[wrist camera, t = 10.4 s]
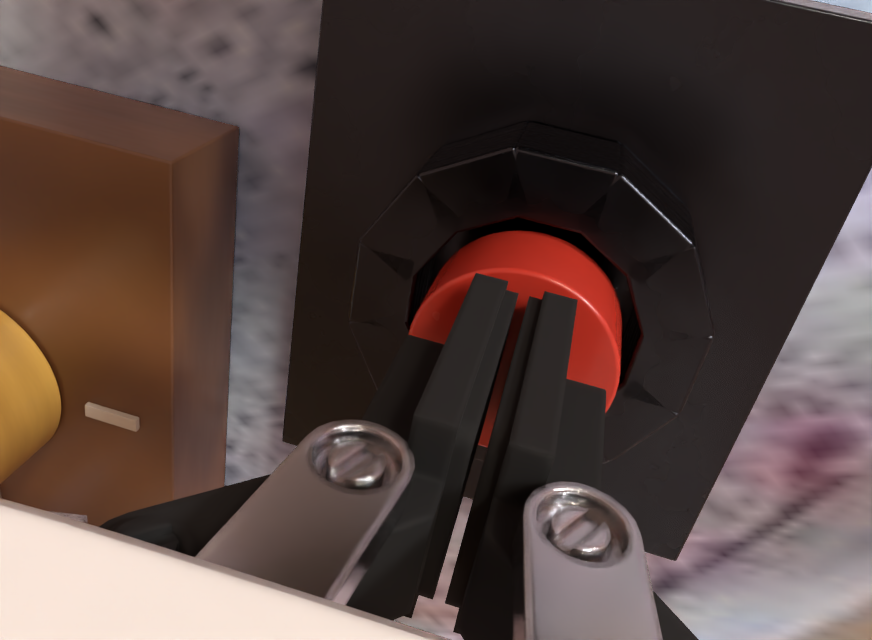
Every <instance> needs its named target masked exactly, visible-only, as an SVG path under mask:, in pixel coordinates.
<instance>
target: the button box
mask: <svg viewBox="0 0 872 640" xmlns="http://www.w3.org/2000/svg"><path fill="white" fill-rule="evenodd" d="M871 168H872V13H868V12H864V11H859V10H854V9H850V8H845V7H840V6H836V5H831V4H826V3H822V2H817V1H812V0H323V4H322V15H321V26H320V36H319V47H318V58H317V69H316V80H315V91H314V102H313V113H312V123H311V134H310V145H309V156H308V167H307V178H306V189H305V200H304V210H303V221H302V232H301V243H300V254H299V265H298V276H297V287H296V298H295V308H294V319H293V330H292V341H291V352H290V363H289V374H288V385H287V395H286V406H285V417H284V428H283V439H282V440H283V442H286V443H289V444H292V445H295V446H298V445H299V444H300V442H301V441H302V440H303V439H304V438H305V437H306V436H307V435H308V434H309V433H311V432H312V431H313V430H315V429H316V428H317V427H319V426H322V425H324V424H327V423H330V422H332V421H339V420H347V419H354V420H362V418H363V416H364V414H365V412H366V410H367V408H368V406H369V405H370V403H371V401H372V399H373V397H374V395H375V393H376V392H377V390H378V388H379V386H380V384H381V382H382V380H383V378H384V377H385V375H386V373H387V371H388V369H389V367H390V365H391V364H392V362H393V360H394V358H395V356H396V354H397V352H398V350H399V349H400V347H401V345H402V343H403V341H404V339H405V338H406V336H407V335H408V333H409V329H410V325H411V323H412V321H413V319H414V316H415V314H416V312H417V310H418V309H419V307H420V305H421V303H422V301H423V300H424V298H425V296H426V294H427V292H428V291H429V289H430V287H431V285H432V283H433V282H434V280H435V278H436V276H437V274H438V273H439V271H440V270H441V268H442V267H443V265H444V264H445V263H446V262H447V261H448V259H449V258H450V257H451V256H452V255H453V254H455V253H456V252H457V251H458V250H459V249H461V248H462V247H464V246H465V245H467V244H468V243H470V242H472V241H474V240H476V239H478V238H481V237H483V236H487V235H490V234H493V233H498V232H504V231H516V230H522V231H534V232H539V233H544V234H548V235H551V236H554V237H558V238H560V239H562V240H565V241H567V242H569V243H571V244H573V245H574V246H576V247H577V248H579V249H581V250H582V251H584V252H585V253H586V254H587V255H589V256H590V257H591V258H592V259H593V260H594V261H595V262H596V263H597V264H598V265H599V266H600V267H601V268H602V269H603V271H604V272H605V274H606V275H607V276H608V278H609V279H610V281H611V283H612V285H613V287H614V289H615V291H616V294H617V297H618V299H619V303H620V308H621V313H622V340H621V371H620V380H619V385H618V389H617V392H616V395H615V398H614V400H613V402H612V404H611V406H610V408H609V409H608V411H607V412H606V414H605V429H604V446H603V464H602V481H601V491H602V492H604V493H606V494H608V495H609V496H611V497H613V498H614V499H615V500H616V501H617V502H619V503H620V504H621V505H622V506H624V507H625V508H626V509H627V511H628V512H629V513H630V515H631V516H632V517H633V518H634V520H635V521H636V523H637V526H638V528H639V531H640V533H641V536H642V541H643V546H644V551H645V552H647V553H650V554H654V555H657V556H660V557H664V558H667V559H670V560H673V561H676V560H677V558H678V556H679V554H680V552H681V550H682V548H683V546H684V544H685V542H686V540H687V538H688V536H689V534H690V532H691V530H692V528H693V526H694V524H695V522H696V520H697V518H698V516H699V514H700V512H701V510H702V508H703V506H704V504H705V502H706V500H707V498H708V496H709V494H710V492H711V490H712V488H713V486H714V484H715V482H716V480H717V478H718V476H719V474H720V472H721V470H722V468H723V466H724V464H725V462H726V460H727V458H728V456H729V453H730V451H731V449H732V447H733V445H734V443H735V441H736V439H737V437H738V435H739V433H740V431H741V429H742V427H743V425H744V423H745V421H746V419H747V417H748V415H749V413H750V411H751V409H752V407H753V405H754V403H755V401H756V399H757V397H758V395H759V393H760V391H761V389H762V387H763V385H764V383H765V381H766V379H767V377H768V375H769V373H770V371H771V369H772V367H773V365H774V363H775V361H776V359H777V357H778V355H779V353H780V351H781V349H782V347H783V345H784V343H785V341H786V339H787V337H788V335H789V333H790V331H791V329H792V327H793V325H794V323H795V321H796V319H797V317H798V315H799V313H800V311H801V309H802V307H803V305H804V303H805V301H806V299H807V297H808V295H809V293H810V291H811V289H812V287H813V285H814V283H815V281H816V279H817V277H818V275H819V273H820V271H821V269H822V267H823V264H824V262H825V260H826V258H827V256H828V254H829V252H830V250H831V248H832V246H833V244H834V242H835V240H836V238H837V236H838V234H839V232H840V230H841V228H842V226H843V224H844V222H845V220H846V218H847V216H848V214H849V212H850V210H851V208H852V206H853V204H854V202H855V200H856V198H857V196H858V194H859V192H860V190H861V188H862V186H863V184H864V182H865V180H866V178H867V176H868V174H869V172H870V170H871ZM486 451H487V448H486V447H483V446H481V445H478V447H477V450H476V454H475V457H474V461H473V464H472V467H471V471H470V474H469V478H468V481H467V484H466V488H465V491H464V495H463V497H466V498H470V499H474V495H475V491H476V488H477V484H478V480H479V477H480V473H481V469H482V466H483V462H484V458H485V455H486Z"/></svg>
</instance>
